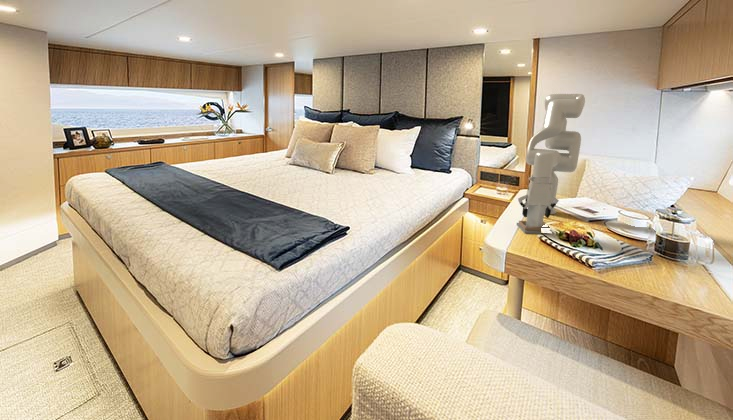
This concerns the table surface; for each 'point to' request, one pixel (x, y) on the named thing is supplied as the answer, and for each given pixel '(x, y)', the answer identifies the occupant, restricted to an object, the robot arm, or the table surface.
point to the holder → (530, 228)
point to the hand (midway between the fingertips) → (535, 216)
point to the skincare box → (535, 216)
